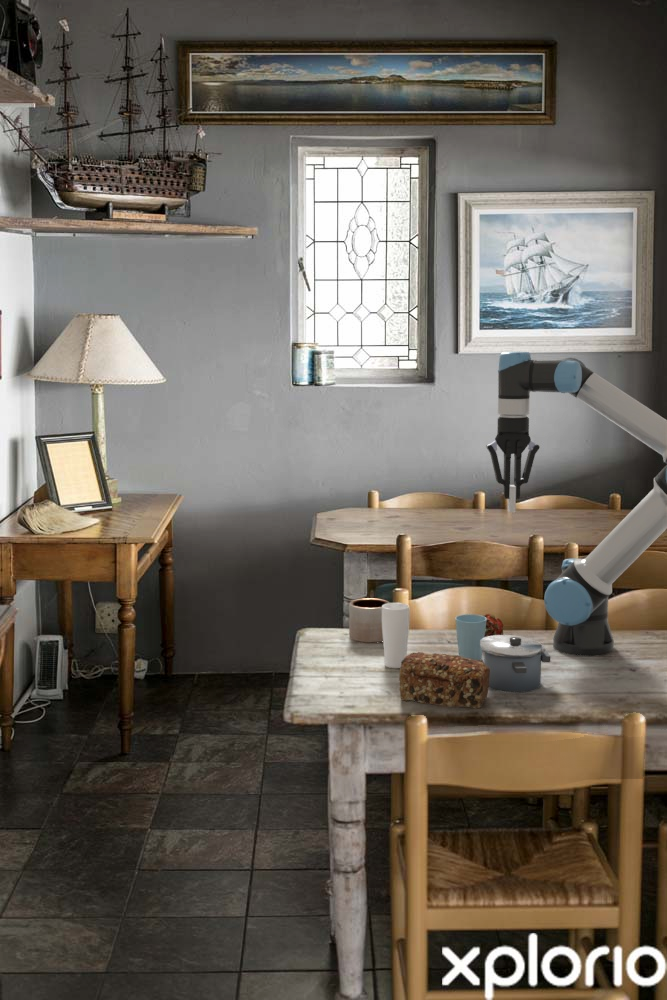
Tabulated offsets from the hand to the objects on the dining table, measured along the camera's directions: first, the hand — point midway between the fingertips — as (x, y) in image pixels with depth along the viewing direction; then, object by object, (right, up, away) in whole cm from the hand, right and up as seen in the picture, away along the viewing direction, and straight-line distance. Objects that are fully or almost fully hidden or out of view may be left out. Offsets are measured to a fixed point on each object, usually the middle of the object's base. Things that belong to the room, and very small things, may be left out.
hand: (511, 511), depth 275 cm
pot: (-2, -39, -16) cm, 43 cm away
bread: (-19, -42, -26) cm, 53 cm away
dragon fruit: (-4, -35, +16) cm, 38 cm away
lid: (-3, -31, -17) cm, 36 cm away
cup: (-10, -37, +3) cm, 38 cm away
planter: (-34, -34, +21) cm, 53 cm away
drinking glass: (-29, -38, -2) cm, 47 cm away
